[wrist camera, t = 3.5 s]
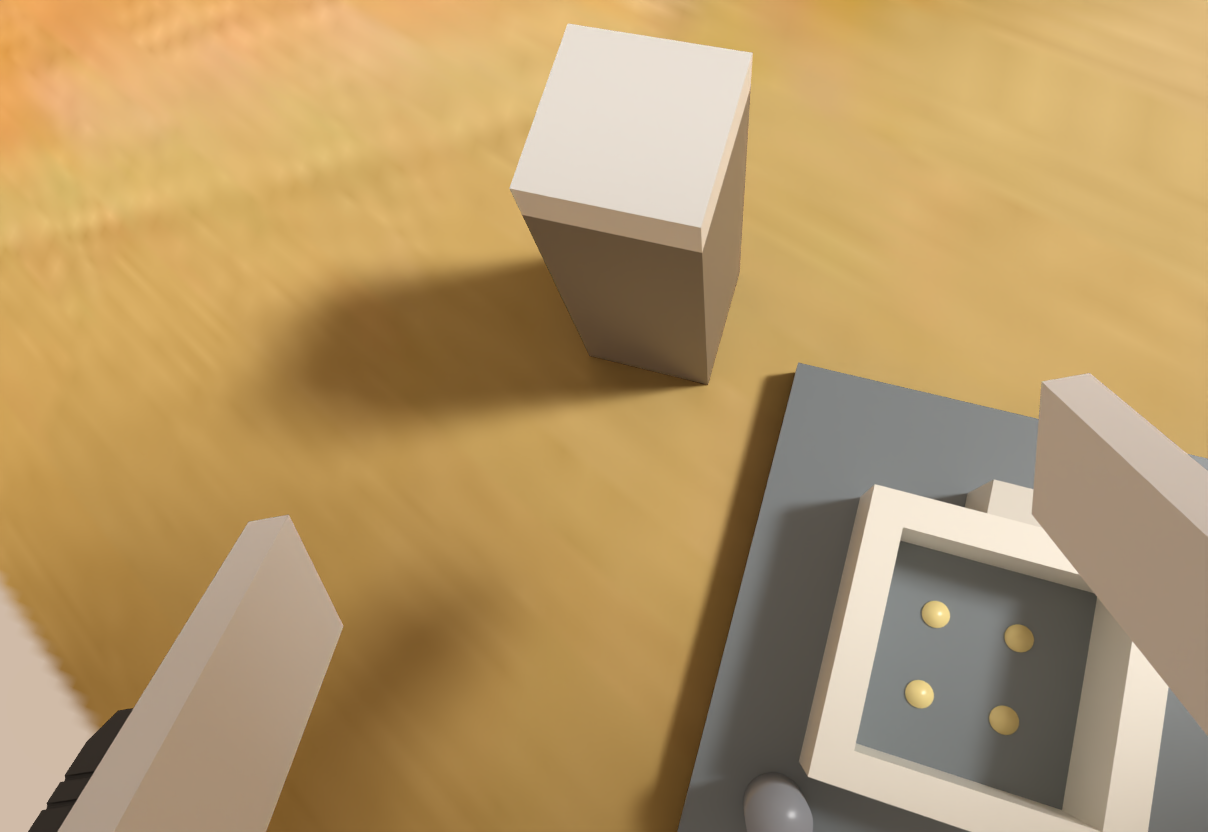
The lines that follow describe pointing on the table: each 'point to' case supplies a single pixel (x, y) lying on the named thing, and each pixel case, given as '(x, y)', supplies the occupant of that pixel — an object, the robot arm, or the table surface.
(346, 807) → the table surface
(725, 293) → the tall square peg
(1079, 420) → the robot arm
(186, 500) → the table surface
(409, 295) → the table surface
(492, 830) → the table surface
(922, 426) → the board
